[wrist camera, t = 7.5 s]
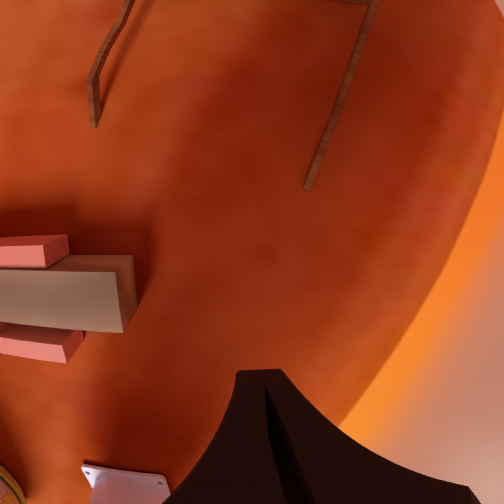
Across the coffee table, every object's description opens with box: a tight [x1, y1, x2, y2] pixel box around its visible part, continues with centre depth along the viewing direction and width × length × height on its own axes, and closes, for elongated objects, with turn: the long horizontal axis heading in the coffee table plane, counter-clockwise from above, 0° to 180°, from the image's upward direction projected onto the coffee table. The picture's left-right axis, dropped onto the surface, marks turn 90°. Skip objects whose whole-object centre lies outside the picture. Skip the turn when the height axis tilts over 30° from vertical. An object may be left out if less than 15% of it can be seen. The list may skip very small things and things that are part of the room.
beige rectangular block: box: [0, 255, 138, 333], centre depth 16 cm, size 3×9×4 cm, turn 89°
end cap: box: [0, 234, 84, 363], centre depth 16 cm, size 7×7×3 cm
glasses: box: [87, 0, 380, 191], centre depth 13 cm, size 13×13×5 cm
